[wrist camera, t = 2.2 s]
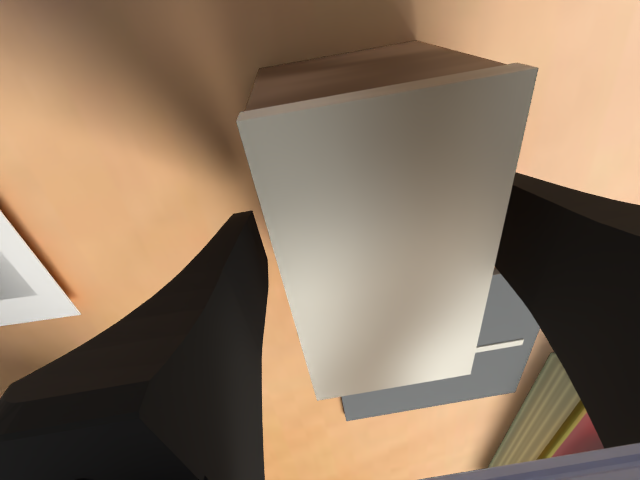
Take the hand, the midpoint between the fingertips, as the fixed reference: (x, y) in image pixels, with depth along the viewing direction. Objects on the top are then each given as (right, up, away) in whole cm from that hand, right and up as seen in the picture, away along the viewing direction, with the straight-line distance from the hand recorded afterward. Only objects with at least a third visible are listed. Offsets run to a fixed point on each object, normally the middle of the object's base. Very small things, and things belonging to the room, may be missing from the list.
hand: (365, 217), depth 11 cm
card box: (0, +2, +2) cm, 3 cm away
